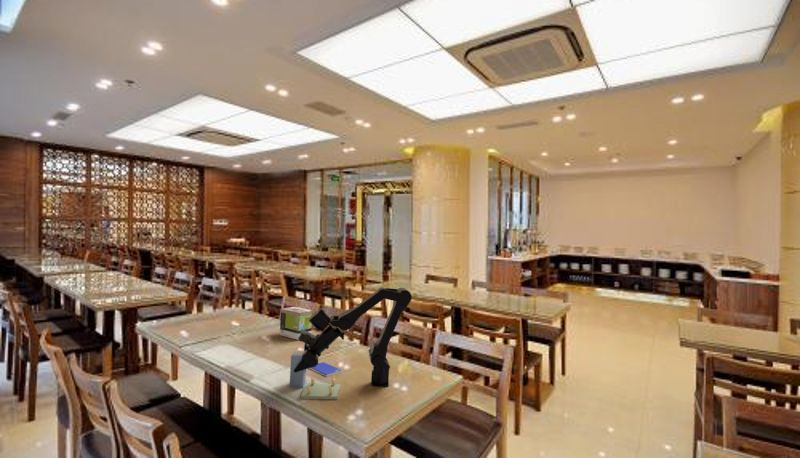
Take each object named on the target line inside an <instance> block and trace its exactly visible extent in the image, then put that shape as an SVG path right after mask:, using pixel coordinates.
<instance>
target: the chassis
mask: <svg viewBox="0 0 800 458" xmlns="http://www.w3.org/2000/svg"><path fill="white" fill-rule="evenodd" d="M310 381H311V382H309V383H308V382H305V383H306V384H305V385H304V387H303V390H302V392H301V395H300V399H302V400H303V399H307V400H309V399H310V400H338V397H339V393H340V391H341V390H340V389H341V383H336V378H331V383H319V382H318V383H316V382H315V377H312V378H311V380H310Z"/></svg>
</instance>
